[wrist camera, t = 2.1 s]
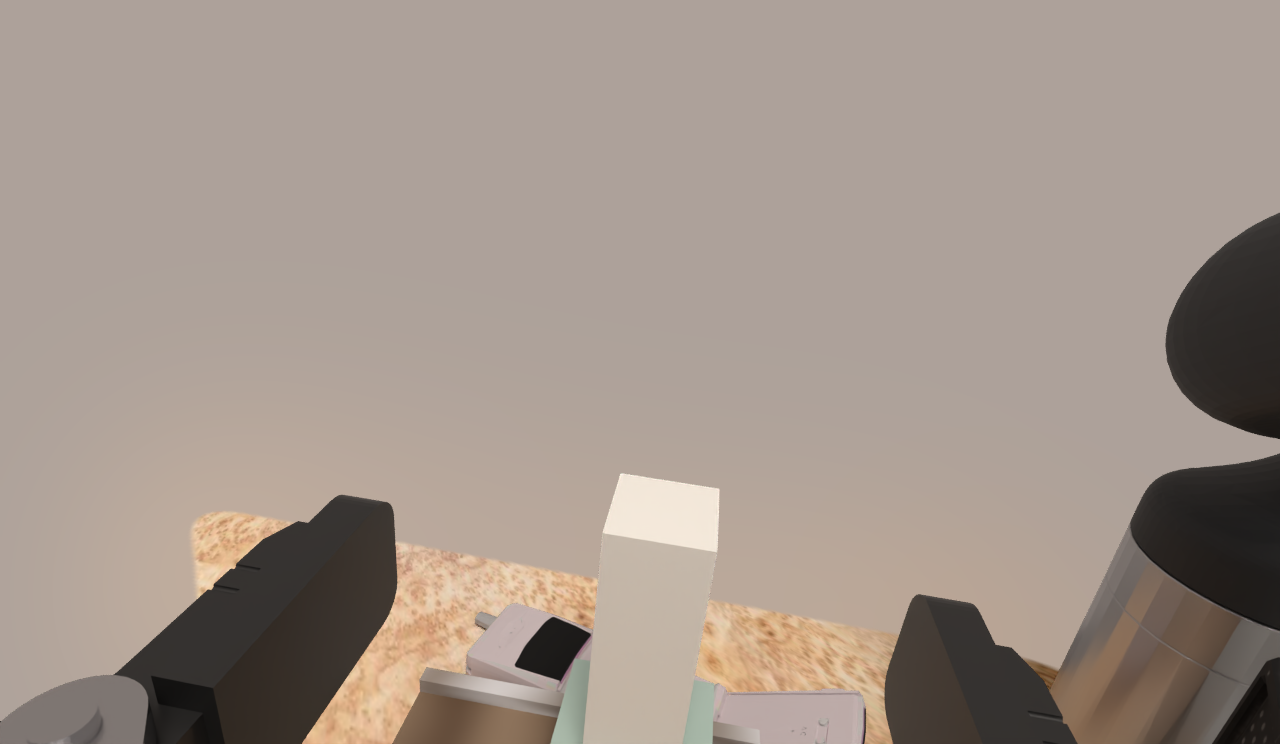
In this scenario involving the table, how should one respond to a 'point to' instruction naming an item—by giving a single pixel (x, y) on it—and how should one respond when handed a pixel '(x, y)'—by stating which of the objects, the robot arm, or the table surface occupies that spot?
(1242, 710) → the portable radio
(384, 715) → the table surface
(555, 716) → the walnut track
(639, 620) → the white pillar on base
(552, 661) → the mobile phone
